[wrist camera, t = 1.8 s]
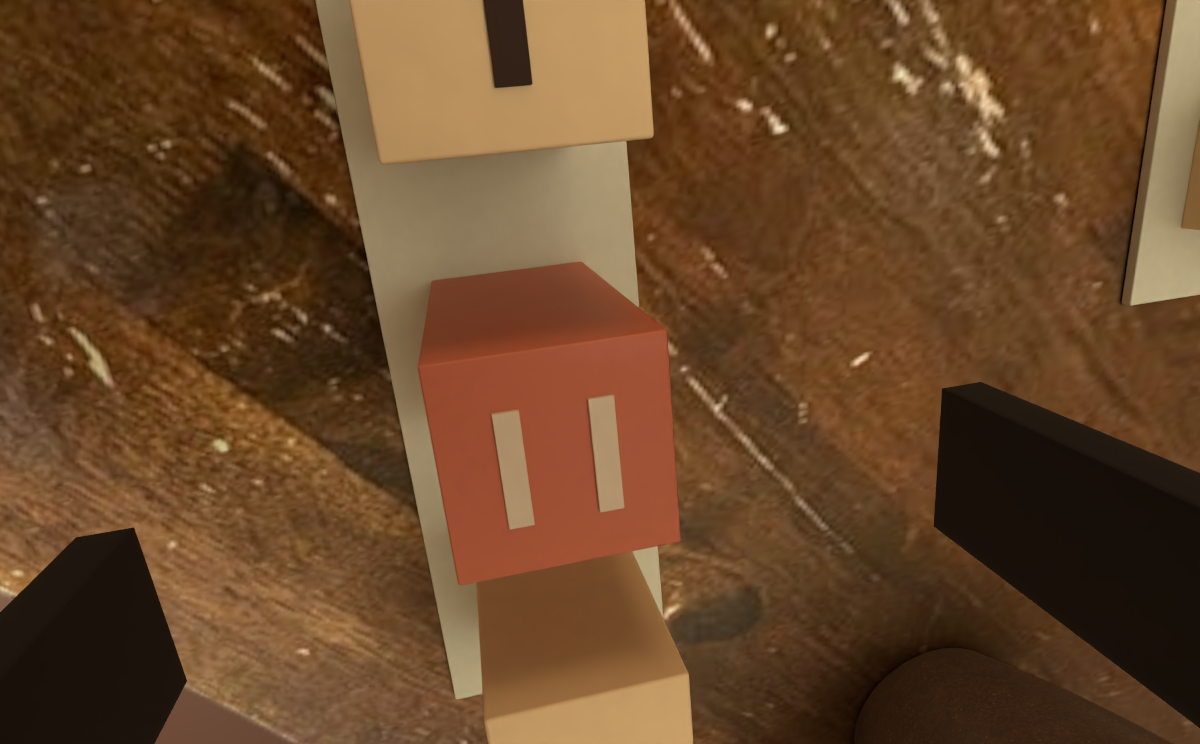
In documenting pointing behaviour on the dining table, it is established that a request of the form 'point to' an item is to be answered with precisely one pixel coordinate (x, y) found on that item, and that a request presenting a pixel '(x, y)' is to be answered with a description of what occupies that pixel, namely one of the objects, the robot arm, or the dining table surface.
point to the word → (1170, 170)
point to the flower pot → (983, 707)
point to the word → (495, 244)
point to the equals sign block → (547, 420)
